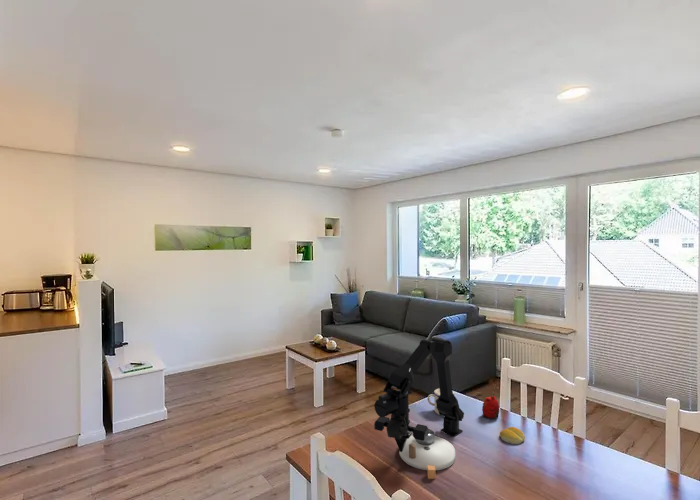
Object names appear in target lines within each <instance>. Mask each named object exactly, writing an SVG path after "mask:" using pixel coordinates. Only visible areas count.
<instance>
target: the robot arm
mask: <svg viewBox="0 0 700 500" xmlns="http://www.w3.org/2000/svg"><path fill="white" fill-rule="evenodd" d="M430 354H431V357H433V359H434V360H435V363H436V365H435V366H436V372H437V377H438V378H437V380H438V389H440V396H439V398H438V399H437V400H436V404H437V409H438V411H439V414H438V415H439V416H442V417H443V422H442V423H443V424H442V425H443V426H442V427H443V428H441V429H440V432H442V433H444V434H446V435H449V436H450V437H453V438H454V437H456V436H458V435H460V434H461V433H463V430H462V429H460V422H462V421H463V419H464V418H465V417H464V415H465V412H464V411H463V410H462V409H461V408H460V405H459V401H458V399H457V397H456V396H455V393H454V394H453V392H454V390H453V385H452V384H453V383H452V377H451V367H450V358H451V356H452V355H453V344H452V342H451V341H450V340H447V339H443V338H439V337H433V338H432V339H428V338H427V339H420V341H419V345H418V346H417V347H416V348H415V350H414V351H413V352H412V354H410V356H409V357H408V359H407V360H406V361H405V363H404V364H402V365H401V366H398V367H396V368H395V369H394V370H392V372H391V373H390V374H389V376H388V379H387V382H386V384H385V386H384V388H383V393H384V394H382V395H378V399H376V401H375V402H374V411H375V413H376V414H377V416H379V417H378V418H377V419H376V420H375V421H374V423H373V429H374V430H376V431H380V432H383V430H385V428H386V435H387V437H388V438H393V439H394V441H395V442H396V445H397V447H398V450H399V451H400V452H402V451H403V449H404V446H405V443H406V440H407V439H409V437H410V436H413V437H414V438H415V439H417V440H422V441H423V440H425V439H426V437H427V435H428V434H429V429H430V428H429V427H428V425H425V424H420V423H417V424H416V425H415V426H413V425H410V423H411V420H410V410H411V409H410V408H409V402H410V401H409V395H411V394H413V390H411V387H412V386H413V383H414V381H415V374H416V373H417V371H418V370H419V369H420V368H421V366H422V365H423V363H424V362H425V361H426V359H427V358H428V357H429V355H430ZM387 416H388V417H387ZM389 416H391V417H389Z"/></svg>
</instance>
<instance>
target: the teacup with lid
mask: <svg viewBox="0 0 700 500" xmlns="http://www.w3.org/2000/svg"><path fill="white" fill-rule="evenodd" d="M453 394H454V395H455V392H454V391H453ZM439 396H440V388H436V389H435V390H434V391H433V393H432V394H428V396H427V401H428V404H429V405H431V406H432V407H433V406H434V412H435V413H436V414H437V415H439V411H438V409H437V404H436V400H437V399H438V398H439ZM431 397H433V398H434V402H431V400H430V398H431Z"/></svg>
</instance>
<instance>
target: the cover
mask: <svg viewBox="0 0 700 500" xmlns="http://www.w3.org/2000/svg"><path fill="white" fill-rule="evenodd" d="M428 429H429V434H428V435H427V437H426V439H425V440H423V441H422V440H417V439H416V442H417V443H419V444H421V445H432V444H434V442H435V438H434V436H435V432H434V430H432V429H430V428H428Z"/></svg>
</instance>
